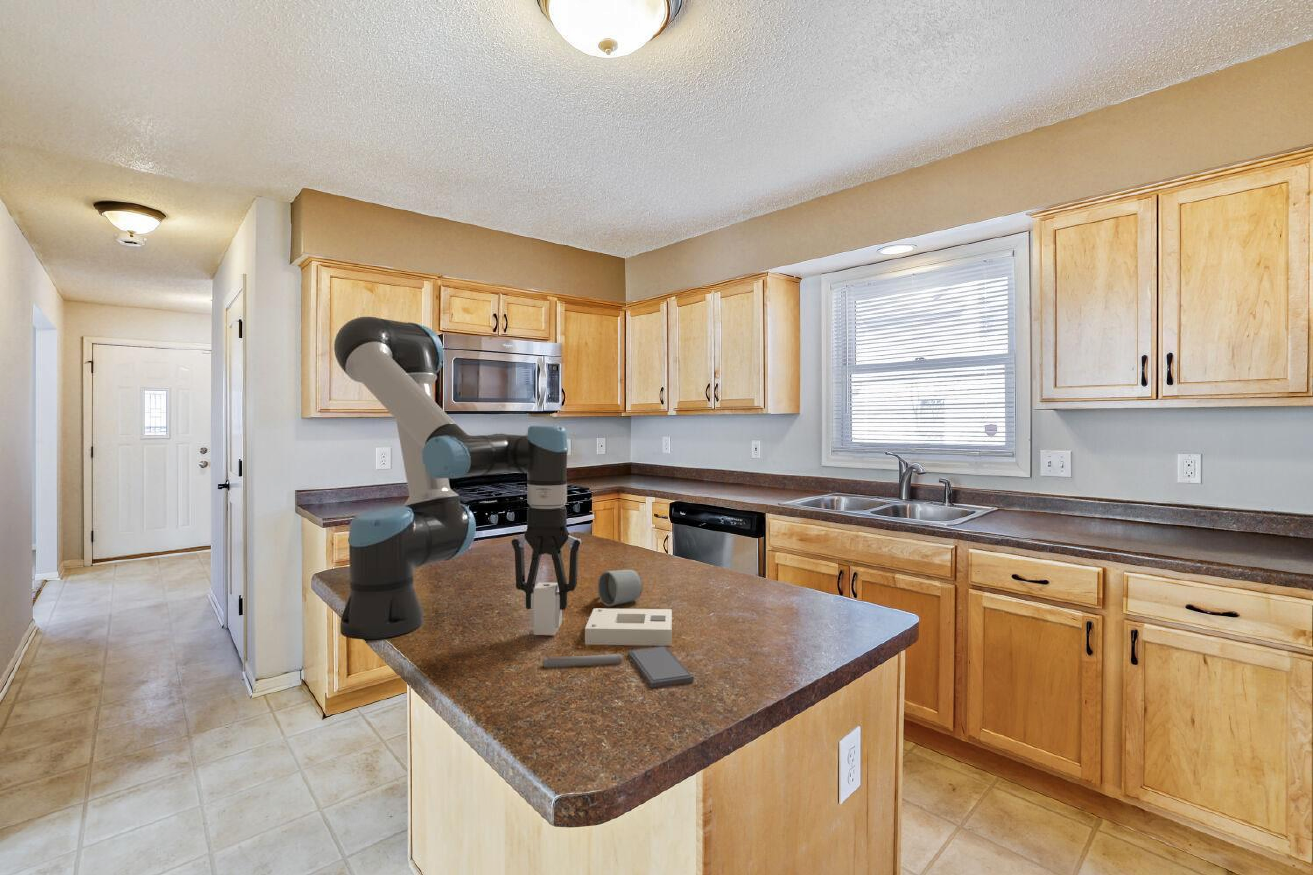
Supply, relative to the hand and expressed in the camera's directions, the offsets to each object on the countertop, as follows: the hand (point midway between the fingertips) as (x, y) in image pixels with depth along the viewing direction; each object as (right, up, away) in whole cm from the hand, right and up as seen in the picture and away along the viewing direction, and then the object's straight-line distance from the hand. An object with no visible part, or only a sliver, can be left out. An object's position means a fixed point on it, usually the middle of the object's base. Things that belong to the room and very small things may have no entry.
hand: (546, 625), depth 119 cm
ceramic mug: (+12, -1, +21) cm, 25 cm away
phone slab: (+22, -2, -16) cm, 27 cm away
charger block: (0, -1, 0) cm, 1 cm away
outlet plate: (+16, -2, 0) cm, 16 cm away
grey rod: (+9, -2, -14) cm, 17 cm away
